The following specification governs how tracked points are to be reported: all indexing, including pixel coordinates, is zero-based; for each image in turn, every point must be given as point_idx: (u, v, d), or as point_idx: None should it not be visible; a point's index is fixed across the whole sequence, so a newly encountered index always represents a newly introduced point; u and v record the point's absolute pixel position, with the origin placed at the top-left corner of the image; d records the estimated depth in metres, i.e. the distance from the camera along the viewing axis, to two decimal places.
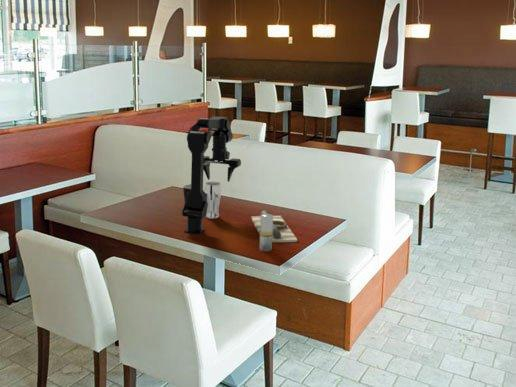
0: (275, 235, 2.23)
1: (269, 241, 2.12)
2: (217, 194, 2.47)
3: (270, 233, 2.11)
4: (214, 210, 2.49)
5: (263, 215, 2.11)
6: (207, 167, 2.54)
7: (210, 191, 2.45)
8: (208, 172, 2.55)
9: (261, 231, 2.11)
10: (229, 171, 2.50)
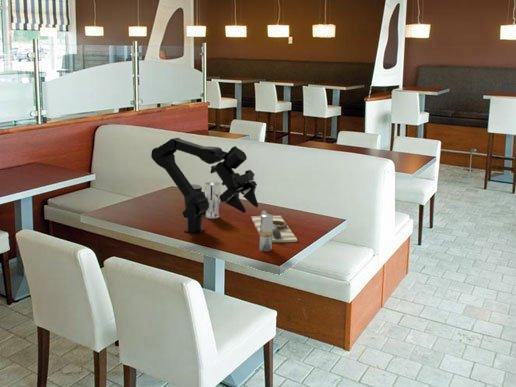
0: (275, 235, 2.23)
1: (269, 241, 2.12)
2: (217, 194, 2.47)
3: (270, 233, 2.11)
4: (214, 210, 2.49)
5: (263, 215, 2.11)
6: (247, 195, 2.22)
7: (210, 191, 2.45)
8: (251, 200, 2.21)
9: (261, 231, 2.11)
10: None
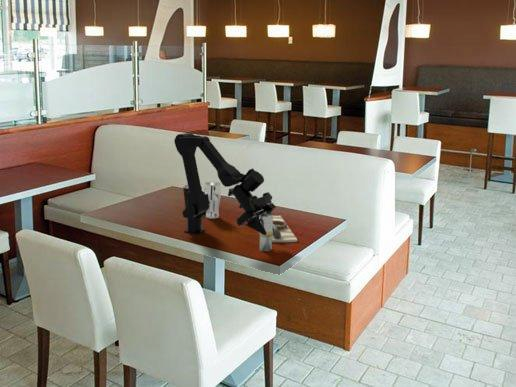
0: (275, 235, 2.23)
1: (269, 241, 2.12)
2: (217, 194, 2.47)
3: (270, 233, 2.11)
4: (214, 210, 2.49)
5: (263, 215, 2.11)
6: None
7: (210, 191, 2.45)
8: None
9: None
10: None
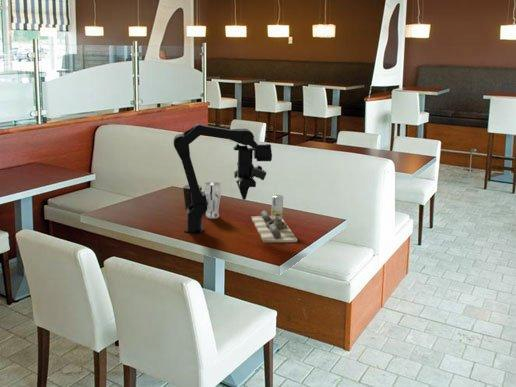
0: (275, 235, 2.23)
1: None
2: (217, 194, 2.47)
3: (282, 211, 2.36)
4: (214, 210, 2.49)
5: (275, 196, 2.34)
6: None
7: (210, 191, 2.45)
8: None
9: (276, 211, 2.34)
10: (238, 187, 2.29)
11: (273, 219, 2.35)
